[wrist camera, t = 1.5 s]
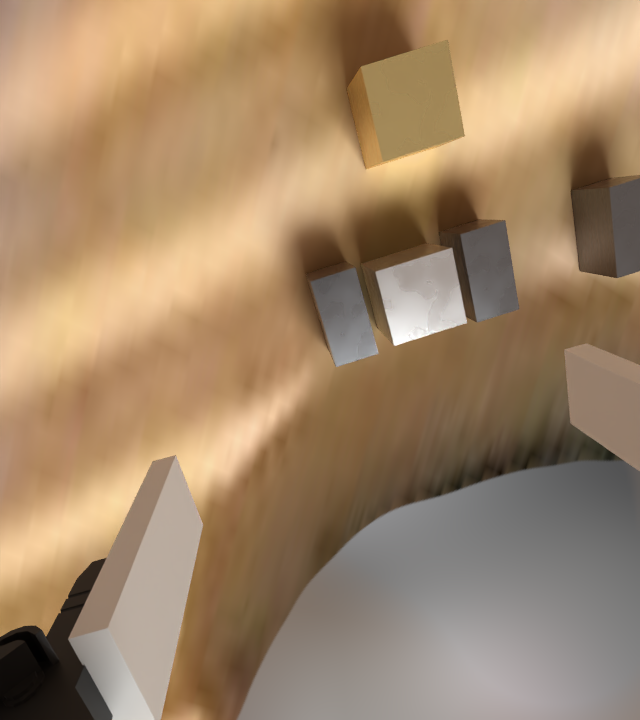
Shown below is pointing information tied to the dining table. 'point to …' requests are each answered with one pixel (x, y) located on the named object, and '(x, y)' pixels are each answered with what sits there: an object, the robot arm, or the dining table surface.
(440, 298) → the light gray cube
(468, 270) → the dark grey cubes
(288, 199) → the dining table surface
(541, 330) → the dining table surface
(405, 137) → the yellow cube
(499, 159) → the dining table surface
